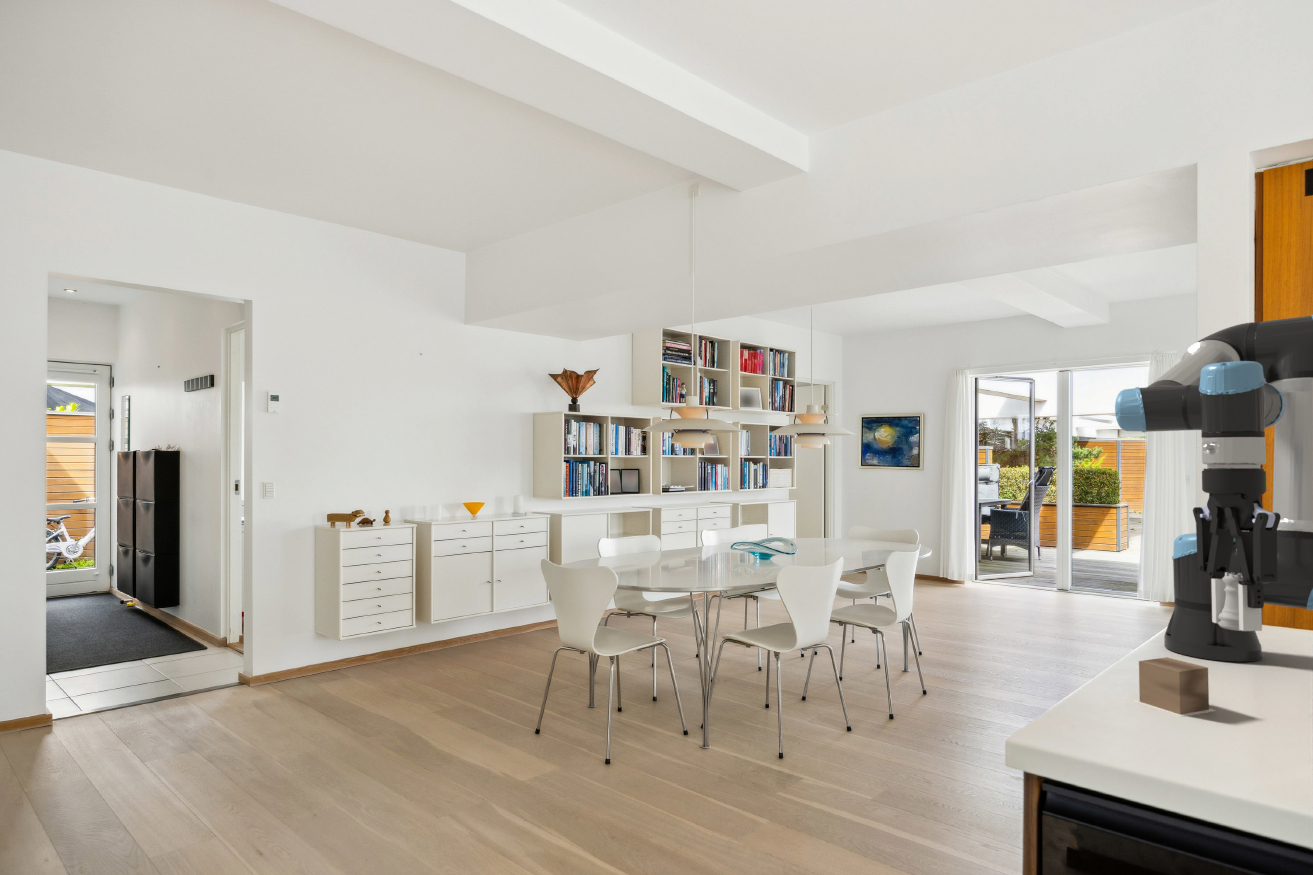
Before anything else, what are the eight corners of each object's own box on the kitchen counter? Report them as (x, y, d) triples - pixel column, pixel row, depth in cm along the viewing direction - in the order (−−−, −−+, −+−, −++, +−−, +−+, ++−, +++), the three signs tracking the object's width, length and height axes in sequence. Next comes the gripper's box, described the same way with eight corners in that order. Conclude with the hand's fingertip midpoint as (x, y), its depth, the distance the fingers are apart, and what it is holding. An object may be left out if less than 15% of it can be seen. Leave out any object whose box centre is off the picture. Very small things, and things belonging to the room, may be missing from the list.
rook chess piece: (1258, 633, 107) (1257, 576, 107) (1219, 629, 109) (1218, 574, 110) (1253, 627, 111) (1252, 572, 111) (1215, 623, 113) (1214, 570, 113)
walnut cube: (1167, 697, 114) (1167, 657, 114) (1209, 709, 108) (1208, 667, 108) (1139, 701, 112) (1138, 660, 112) (1180, 714, 106) (1179, 671, 106)
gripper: (1166, 466, 119) (1169, 614, 119) (1256, 467, 102) (1260, 640, 101) (1212, 466, 120) (1215, 614, 119) (1310, 467, 102) (1315, 640, 101)
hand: (1236, 625), depth 110 cm, fingers closed on rook chess piece, 4 cm apart
